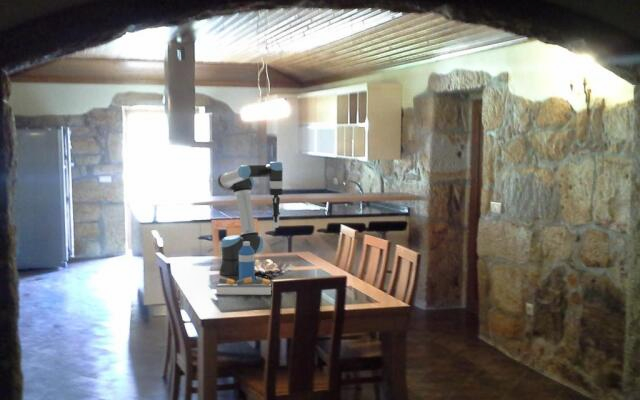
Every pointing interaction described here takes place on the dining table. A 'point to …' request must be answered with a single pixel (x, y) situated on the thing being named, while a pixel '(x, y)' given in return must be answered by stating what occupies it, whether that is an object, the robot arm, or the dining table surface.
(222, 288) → the power strip
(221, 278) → the rocker
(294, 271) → the dining table surface
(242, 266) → the water bottle
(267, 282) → the rocker
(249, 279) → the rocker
